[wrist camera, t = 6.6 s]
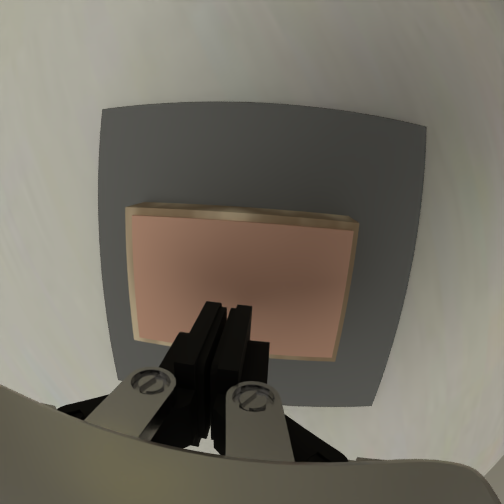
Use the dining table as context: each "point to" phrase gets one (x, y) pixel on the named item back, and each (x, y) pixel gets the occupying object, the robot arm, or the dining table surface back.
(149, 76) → the dining table surface
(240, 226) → the tile
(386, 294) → the mat
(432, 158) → the dining table surface
